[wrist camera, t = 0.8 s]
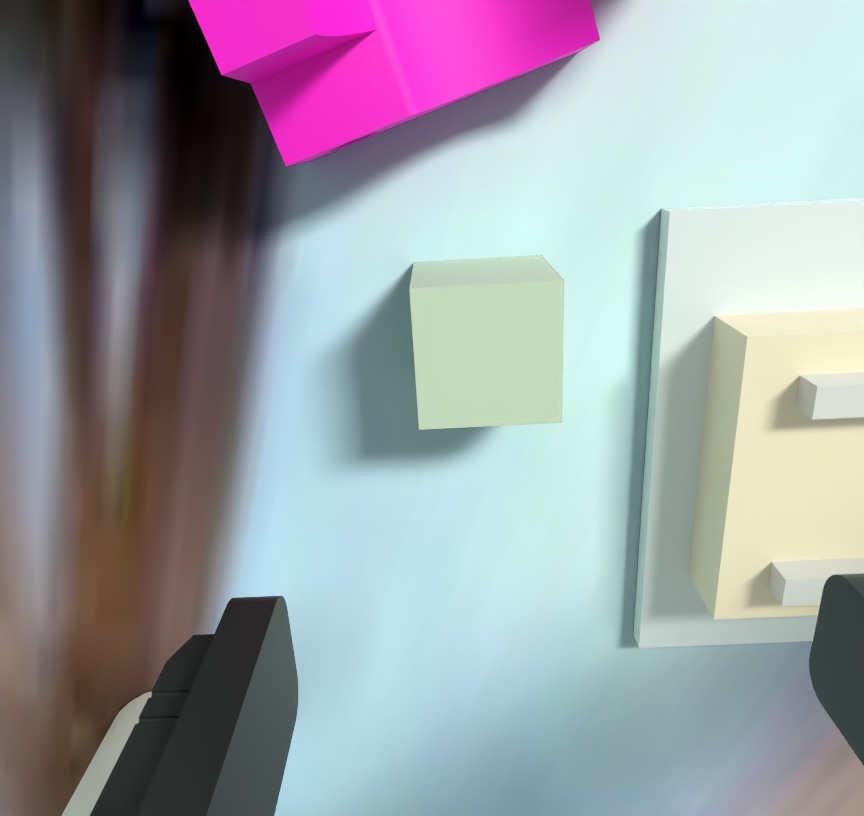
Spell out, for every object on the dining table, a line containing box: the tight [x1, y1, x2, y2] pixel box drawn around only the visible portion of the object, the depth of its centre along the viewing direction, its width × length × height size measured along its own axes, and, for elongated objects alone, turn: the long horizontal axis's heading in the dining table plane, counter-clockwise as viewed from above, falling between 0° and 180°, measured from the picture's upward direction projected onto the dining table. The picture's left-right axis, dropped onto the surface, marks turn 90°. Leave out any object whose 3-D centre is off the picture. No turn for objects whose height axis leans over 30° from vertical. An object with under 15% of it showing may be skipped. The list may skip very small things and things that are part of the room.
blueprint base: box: [633, 197, 864, 648], centre depth 27 cm, size 14×20×5 cm
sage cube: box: [409, 255, 564, 430], centre depth 25 cm, size 5×5×5 cm
